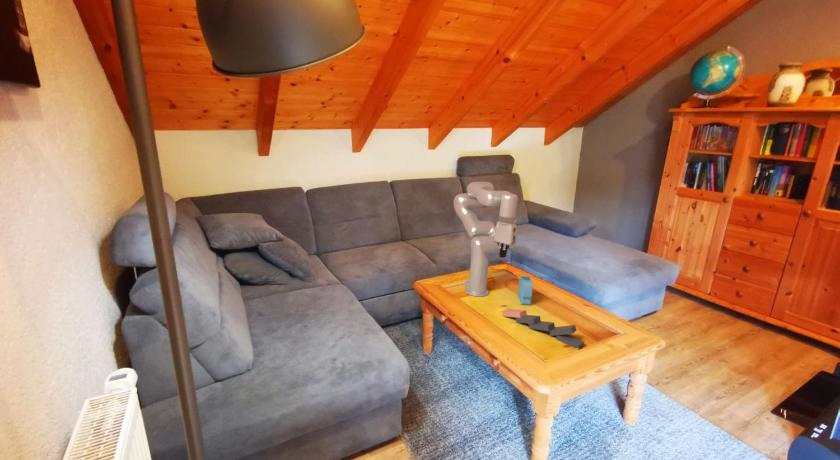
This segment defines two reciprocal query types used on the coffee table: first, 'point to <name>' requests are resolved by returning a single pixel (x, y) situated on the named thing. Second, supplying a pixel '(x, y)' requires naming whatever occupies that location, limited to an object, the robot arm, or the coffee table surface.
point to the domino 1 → (514, 313)
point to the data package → (525, 290)
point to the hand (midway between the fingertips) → (502, 256)
